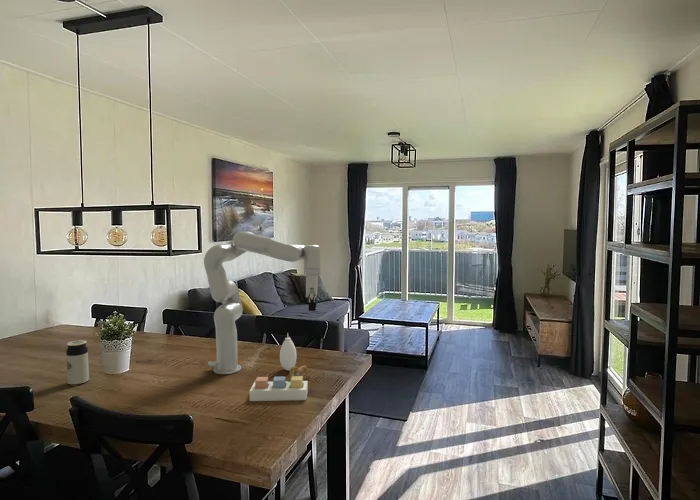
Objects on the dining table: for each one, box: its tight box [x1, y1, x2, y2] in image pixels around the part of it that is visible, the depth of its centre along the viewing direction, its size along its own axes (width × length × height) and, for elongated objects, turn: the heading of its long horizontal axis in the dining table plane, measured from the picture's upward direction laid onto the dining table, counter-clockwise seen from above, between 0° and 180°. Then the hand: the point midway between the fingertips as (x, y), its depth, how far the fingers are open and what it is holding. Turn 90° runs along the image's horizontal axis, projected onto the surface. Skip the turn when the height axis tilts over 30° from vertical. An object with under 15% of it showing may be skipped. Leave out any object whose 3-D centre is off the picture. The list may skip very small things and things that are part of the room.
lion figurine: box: [289, 365, 311, 381], centre depth 188 cm, size 15×5×9 cm, turn 163°
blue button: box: [272, 376, 287, 388], centre depth 174 cm, size 4×4×4 cm
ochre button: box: [290, 376, 304, 388], centre depth 174 cm, size 4×4×4 cm
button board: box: [248, 380, 309, 402], centre depth 174 cm, size 22×10×4 cm, turn 92°
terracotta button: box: [254, 376, 269, 389], centre depth 174 cm, size 4×4×4 cm
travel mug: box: [65, 339, 90, 385], centre depth 190 cm, size 8×8×18 cm
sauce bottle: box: [279, 332, 298, 372], centre depth 205 cm, size 8×8×18 cm
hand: (312, 308), depth 199 cm, fingers open, 9 cm apart
